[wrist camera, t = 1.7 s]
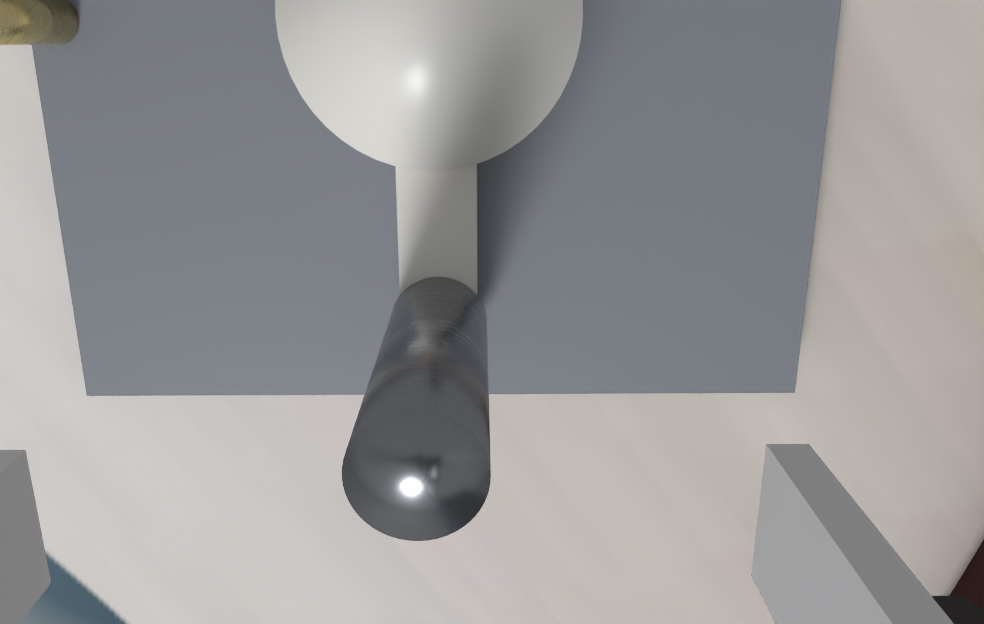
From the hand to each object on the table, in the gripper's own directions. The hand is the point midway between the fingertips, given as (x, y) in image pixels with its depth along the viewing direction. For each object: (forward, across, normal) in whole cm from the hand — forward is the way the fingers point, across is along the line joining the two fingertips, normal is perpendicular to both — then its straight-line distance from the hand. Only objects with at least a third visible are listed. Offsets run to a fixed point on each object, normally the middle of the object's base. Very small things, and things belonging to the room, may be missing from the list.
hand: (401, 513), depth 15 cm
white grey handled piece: (+13, 0, -8) cm, 16 cm away
